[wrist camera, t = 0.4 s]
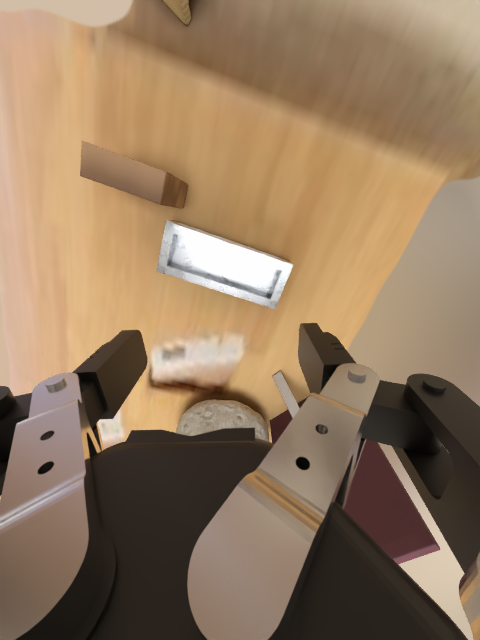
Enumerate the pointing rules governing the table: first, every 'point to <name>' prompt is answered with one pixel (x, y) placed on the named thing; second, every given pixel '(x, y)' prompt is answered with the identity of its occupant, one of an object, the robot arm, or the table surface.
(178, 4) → the toy sofa
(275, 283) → the tray
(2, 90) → the table surface
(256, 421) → the decorative shell
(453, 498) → the robot arm
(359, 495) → the picture frame
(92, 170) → the door panel
